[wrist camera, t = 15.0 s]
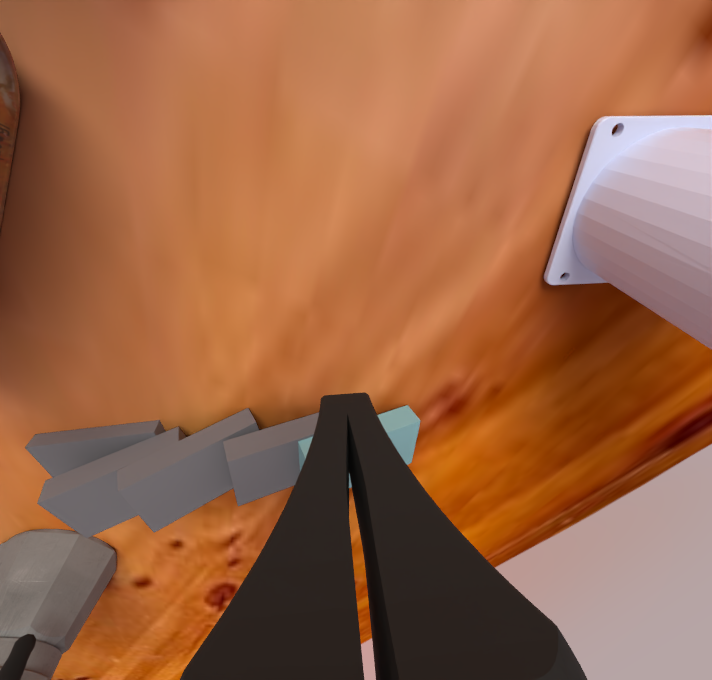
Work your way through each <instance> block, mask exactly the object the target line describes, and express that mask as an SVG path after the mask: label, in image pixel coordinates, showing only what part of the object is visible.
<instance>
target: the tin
mask: <svg viewBox="0 0 712 680" xmlns="http://www.w3.org/2000/svg"><path fill="white" fill-rule="evenodd" d="M19 114H20V92H19V83H18V77H17V73H16V69H15V65H14V61H13V59H12V56H11V53H10V51H9V49H8V47H7V44H6V42H5V40H4V38H3V37H2V35H1V33H0V230H1V225H2V218H3V212H4V206H5V199H6V193H7V187H8V180H9V176H10V170H11V164H12V158H13V152H14V146H15V140H16V134H17V127H18V122H19Z"/></svg>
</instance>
